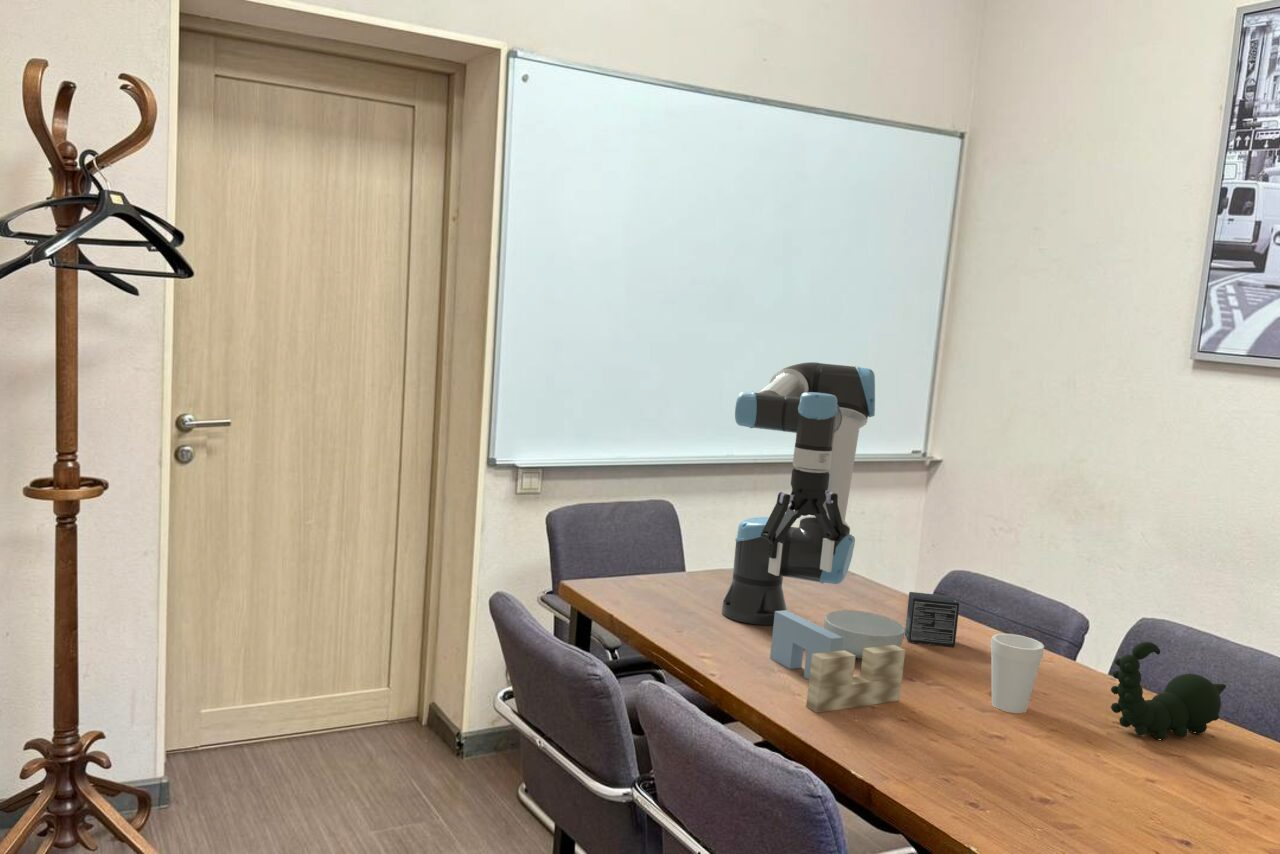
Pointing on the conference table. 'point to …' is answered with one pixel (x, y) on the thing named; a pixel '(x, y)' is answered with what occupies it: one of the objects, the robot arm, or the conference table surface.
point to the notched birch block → (855, 678)
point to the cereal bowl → (864, 630)
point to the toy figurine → (1164, 699)
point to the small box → (932, 619)
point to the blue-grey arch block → (800, 641)
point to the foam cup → (1014, 670)
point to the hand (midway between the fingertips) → (799, 572)
